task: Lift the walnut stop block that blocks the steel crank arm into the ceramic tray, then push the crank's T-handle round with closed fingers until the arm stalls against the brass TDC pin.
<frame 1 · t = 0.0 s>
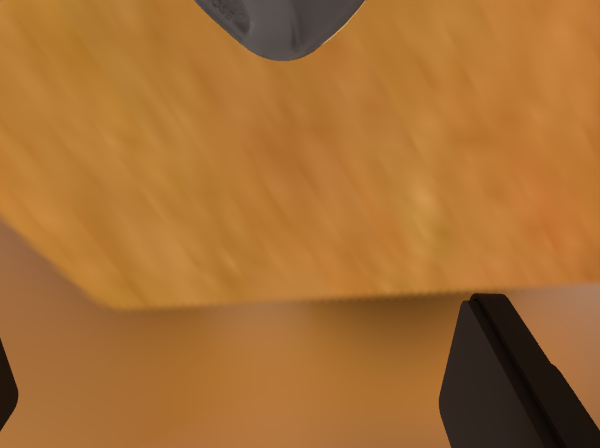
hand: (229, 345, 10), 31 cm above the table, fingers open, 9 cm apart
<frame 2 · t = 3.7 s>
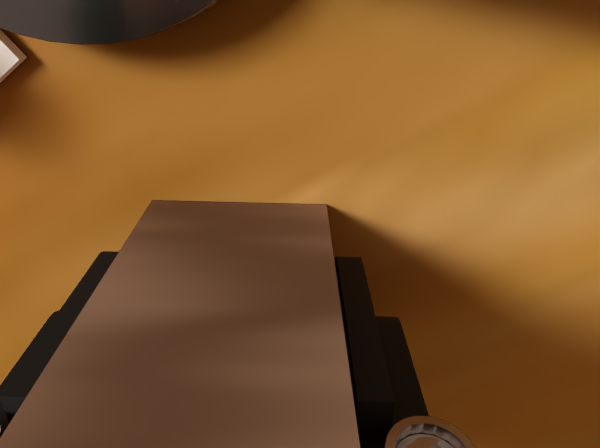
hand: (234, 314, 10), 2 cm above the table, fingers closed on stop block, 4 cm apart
stop block: (241, 275, 12), on the table, touching gripper
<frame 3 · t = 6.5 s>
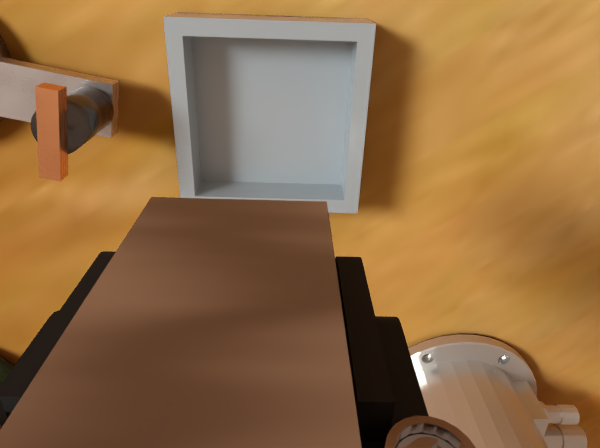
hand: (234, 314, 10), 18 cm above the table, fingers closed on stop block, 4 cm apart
tray: (272, 110, 27), on the table
stop block: (241, 272, 12), point 17 cm above the table, touching gripper
when the fingers open (4 cm above the table, at t = 9.3 s): stop block drops 1 cm, resting on tray.
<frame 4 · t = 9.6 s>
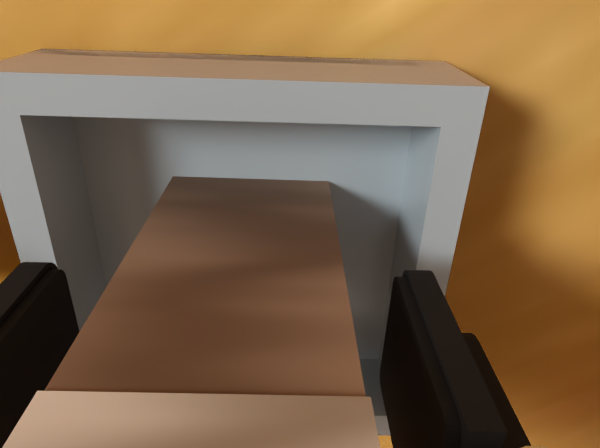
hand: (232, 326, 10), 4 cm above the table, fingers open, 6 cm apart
tray: (249, 231, 14), on the table
stop block: (251, 245, 13), point 1 cm above the table, touching tray
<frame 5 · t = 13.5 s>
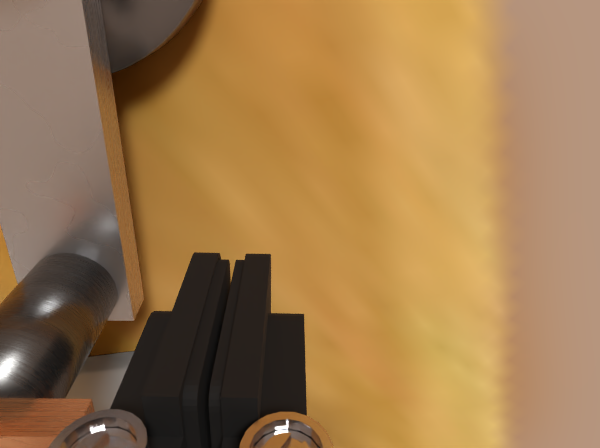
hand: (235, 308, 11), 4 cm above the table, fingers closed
tray: (172, 445, 19), on the table
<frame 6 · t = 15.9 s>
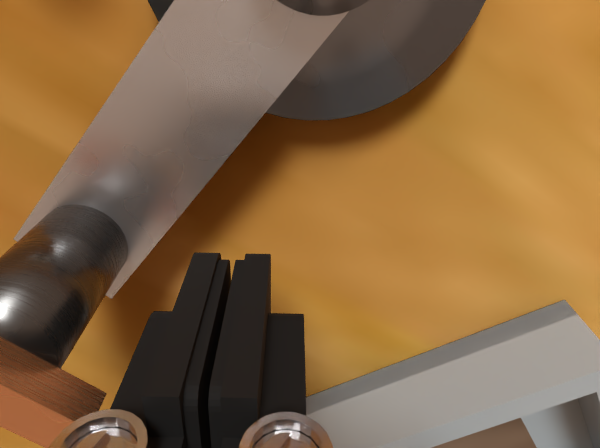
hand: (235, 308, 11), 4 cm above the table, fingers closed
tray: (468, 436, 19), on the table
crank: (170, 123, 9), point 4 cm above the table, hinge at 112.4°, touching gripper
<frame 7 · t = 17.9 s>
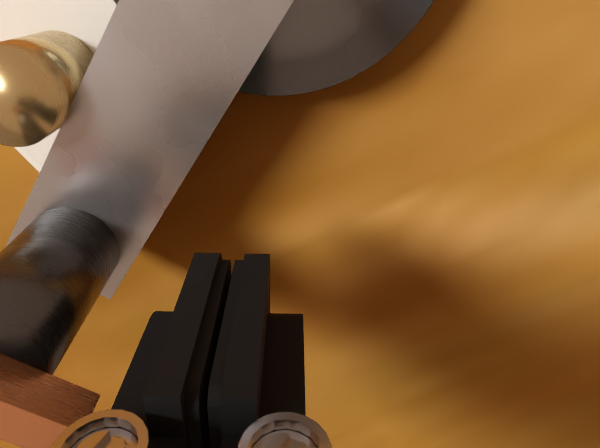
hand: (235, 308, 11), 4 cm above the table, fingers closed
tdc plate: (67, 71, 12), on the table
crank: (133, 111, 8), point 4 cm above the table, hinge at 59.7°, touching gripper, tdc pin
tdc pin: (67, 71, 12), resting on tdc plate
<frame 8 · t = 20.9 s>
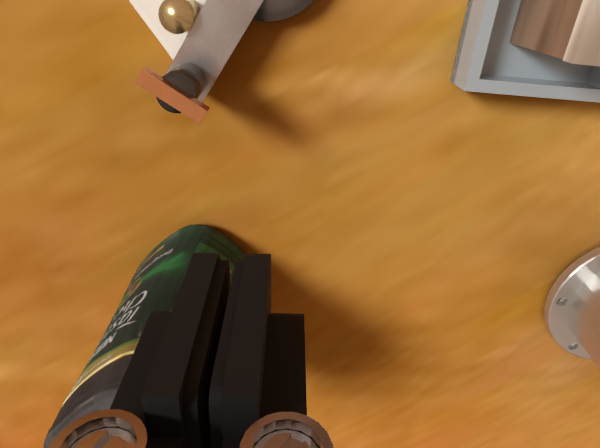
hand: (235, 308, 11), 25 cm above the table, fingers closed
tray: (541, 11, 31), on the table
stop block: (548, 12, 30), point 1 cm above the table, touching tray
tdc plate: (185, 12, 31), on the table
crank: (222, 17, 27), point 4 cm above the table, hinge at 59.9°
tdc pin: (185, 12, 31), resting on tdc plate
coffee jar: (194, 268, 40), on the table
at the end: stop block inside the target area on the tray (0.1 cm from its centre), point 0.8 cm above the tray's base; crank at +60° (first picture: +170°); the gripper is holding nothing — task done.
